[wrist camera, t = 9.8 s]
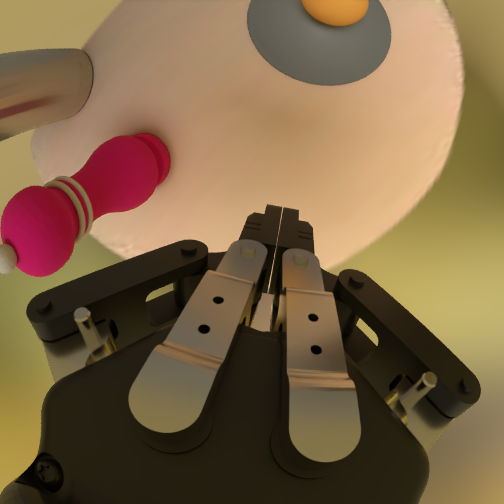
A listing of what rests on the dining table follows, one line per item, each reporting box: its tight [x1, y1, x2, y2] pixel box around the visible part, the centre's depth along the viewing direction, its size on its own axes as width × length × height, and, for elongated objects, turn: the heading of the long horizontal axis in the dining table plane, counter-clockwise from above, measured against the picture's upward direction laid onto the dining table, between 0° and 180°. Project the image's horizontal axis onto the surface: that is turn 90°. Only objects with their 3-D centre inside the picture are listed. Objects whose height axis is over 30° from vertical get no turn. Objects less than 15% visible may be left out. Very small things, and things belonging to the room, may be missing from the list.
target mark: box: [247, 0, 391, 85], centre depth 17 cm, size 13×13×1 cm
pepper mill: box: [0, 133, 170, 277], centre depth 19 cm, size 7×7×20 cm
